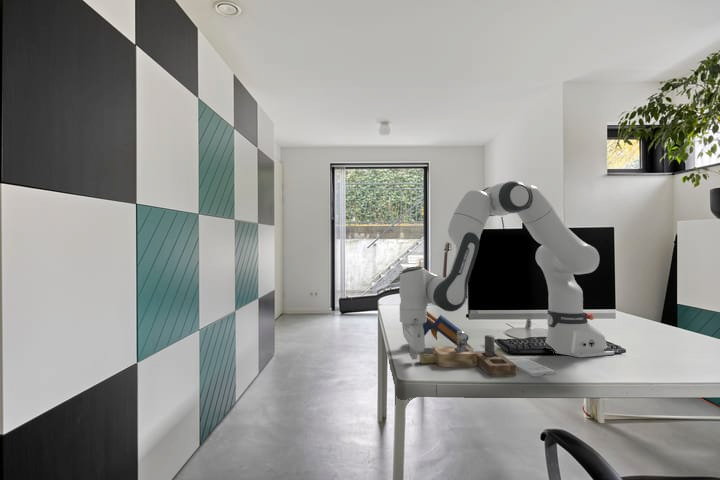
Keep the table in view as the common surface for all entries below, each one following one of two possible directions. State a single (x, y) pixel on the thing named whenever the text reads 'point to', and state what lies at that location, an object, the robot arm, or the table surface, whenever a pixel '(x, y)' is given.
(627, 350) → the table surface
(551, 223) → the robot arm
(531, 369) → the external hard drive
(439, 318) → the glue gun
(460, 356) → the socket block
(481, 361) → the bit rack
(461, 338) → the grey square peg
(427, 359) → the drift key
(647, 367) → the table surface
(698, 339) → the table surface
